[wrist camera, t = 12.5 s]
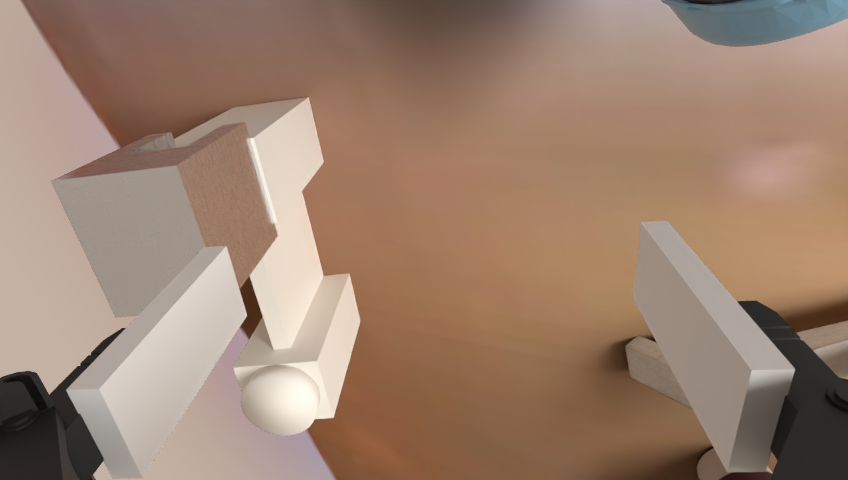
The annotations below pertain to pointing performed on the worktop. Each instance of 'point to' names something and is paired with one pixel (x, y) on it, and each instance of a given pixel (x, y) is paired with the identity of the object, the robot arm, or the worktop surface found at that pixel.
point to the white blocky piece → (290, 281)
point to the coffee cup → (724, 470)
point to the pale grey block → (167, 211)
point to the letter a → (835, 344)
